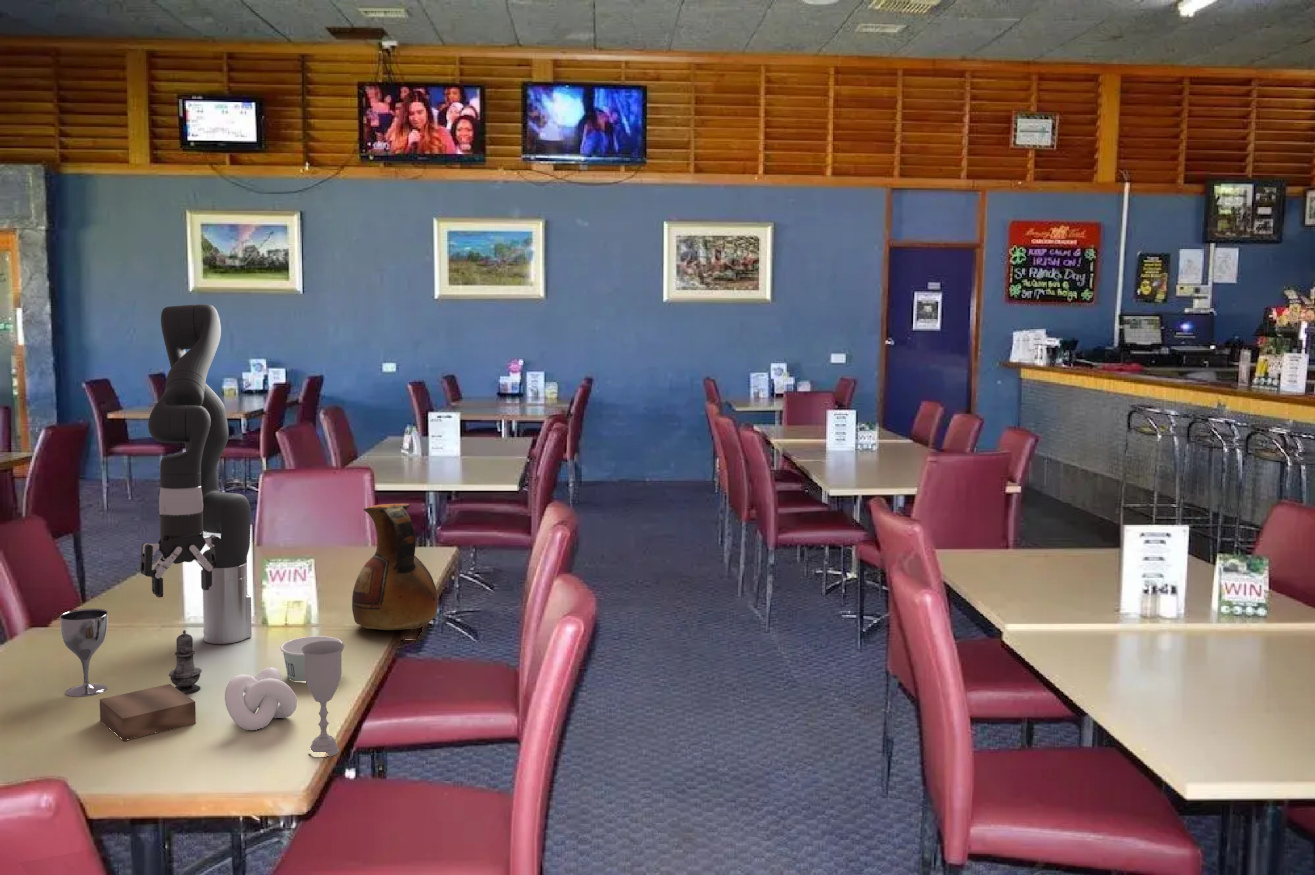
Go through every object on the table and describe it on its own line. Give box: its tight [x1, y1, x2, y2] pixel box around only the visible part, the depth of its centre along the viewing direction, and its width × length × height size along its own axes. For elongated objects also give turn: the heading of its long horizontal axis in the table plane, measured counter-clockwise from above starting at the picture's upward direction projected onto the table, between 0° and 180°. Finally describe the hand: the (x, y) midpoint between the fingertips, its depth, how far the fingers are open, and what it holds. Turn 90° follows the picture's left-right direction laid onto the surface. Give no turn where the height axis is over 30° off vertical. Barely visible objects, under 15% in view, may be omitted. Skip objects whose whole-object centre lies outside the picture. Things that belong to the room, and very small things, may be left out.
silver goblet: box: [59, 608, 109, 698], centre depth 195 cm, size 8×8×15 cm
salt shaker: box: [168, 629, 203, 695], centre depth 197 cm, size 6×6×12 cm
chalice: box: [301, 641, 345, 758], centre depth 170 cm, size 7×7×18 cm
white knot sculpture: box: [224, 666, 298, 731], centre depth 182 cm, size 11×12×9 cm
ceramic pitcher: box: [351, 503, 439, 631], centre depth 240 cm, size 20×20×30 cm
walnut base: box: [99, 683, 197, 741], centre depth 181 cm, size 12×12×4 cm
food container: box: [279, 635, 343, 681], centre depth 207 cm, size 12×12×6 cm
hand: (182, 593), depth 195 cm, fingers open, 8 cm apart
